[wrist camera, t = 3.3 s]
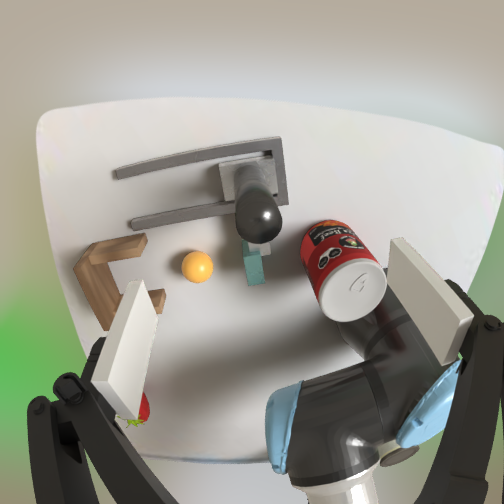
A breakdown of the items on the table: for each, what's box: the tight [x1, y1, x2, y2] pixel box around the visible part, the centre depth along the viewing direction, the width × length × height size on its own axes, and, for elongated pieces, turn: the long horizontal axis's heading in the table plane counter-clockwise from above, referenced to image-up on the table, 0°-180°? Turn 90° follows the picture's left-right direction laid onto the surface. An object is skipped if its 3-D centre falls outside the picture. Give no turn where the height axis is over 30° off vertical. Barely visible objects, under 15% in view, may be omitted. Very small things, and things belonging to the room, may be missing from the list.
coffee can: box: [378, 440, 419, 467], centre depth 60 cm, size 10×10×14 cm
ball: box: [182, 251, 213, 283], centre depth 38 cm, size 4×4×4 cm
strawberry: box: [117, 392, 150, 428], centre depth 48 cm, size 6×8×10 cm
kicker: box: [219, 155, 282, 286], centre depth 31 cm, size 6×14×14 cm, turn 8°
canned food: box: [300, 220, 387, 322], centre depth 35 cm, size 8×8×11 cm
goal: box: [73, 233, 166, 331], centre depth 37 cm, size 8×10×6 cm
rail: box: [116, 137, 289, 231], centre depth 34 cm, size 19×8×1 cm, turn 98°
